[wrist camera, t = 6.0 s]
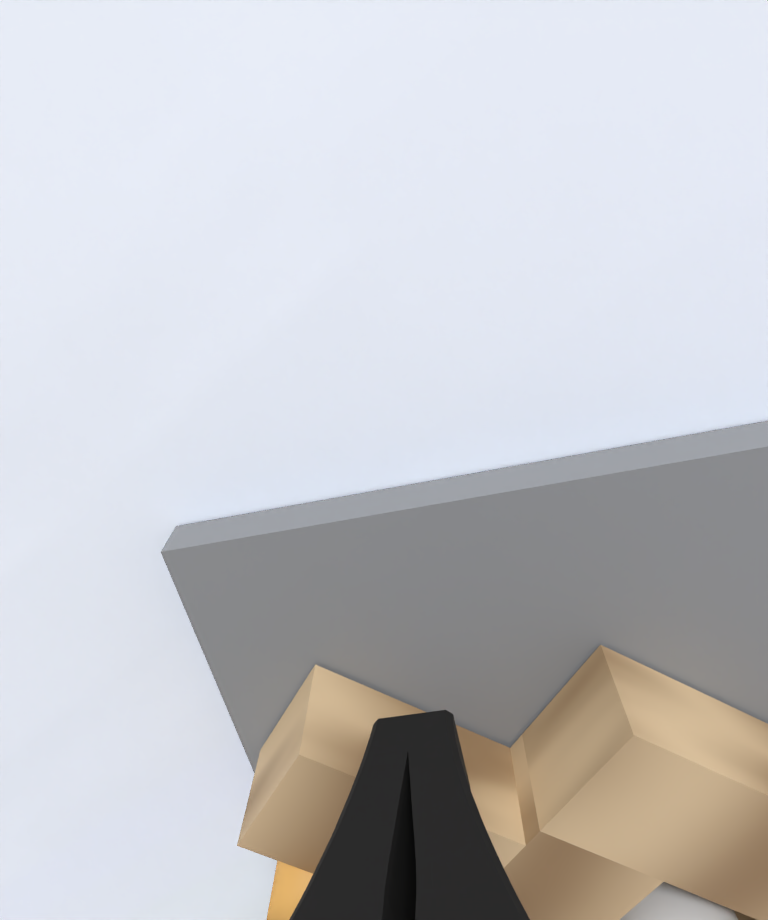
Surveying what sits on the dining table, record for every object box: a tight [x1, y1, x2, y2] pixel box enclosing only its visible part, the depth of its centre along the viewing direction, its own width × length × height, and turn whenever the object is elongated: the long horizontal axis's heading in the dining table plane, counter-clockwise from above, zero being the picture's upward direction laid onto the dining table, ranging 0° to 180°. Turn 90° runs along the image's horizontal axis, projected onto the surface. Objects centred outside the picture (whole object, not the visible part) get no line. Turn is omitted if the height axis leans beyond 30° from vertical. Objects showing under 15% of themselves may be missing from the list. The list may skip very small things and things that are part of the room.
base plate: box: [161, 421, 768, 920], centre depth 15 cm, size 18×18×6 cm
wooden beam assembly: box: [237, 645, 768, 920], centre depth 16 cm, size 15×10×2 cm, turn 62°
